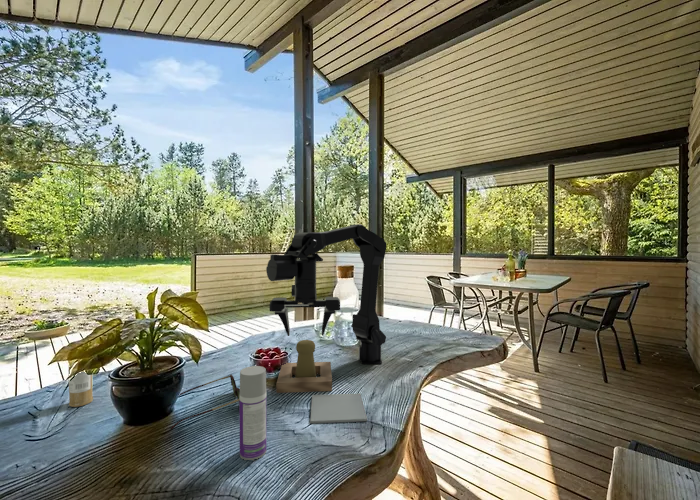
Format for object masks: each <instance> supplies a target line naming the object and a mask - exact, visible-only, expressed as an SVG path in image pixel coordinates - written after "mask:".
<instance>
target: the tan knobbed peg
mask: <svg viewBox="0 0 700 500" xmlns="http://www.w3.org/2000/svg"><path fill="white" fill-rule="evenodd" d="M295 349H296V352H297V360H296V363H297V367H296V375H294V376H295V377H294V378H302V377H317V375H316V370H315V363H314V362H315V358H314V357H315V356H314V352H315V351H316V343H315V342H314V341H313V340H311V339H302V340H299V341H298V342H297V343H296V347H295Z"/></svg>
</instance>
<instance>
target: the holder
mask: <svg viewBox="0 0 700 500" xmlns="http://www.w3.org/2000/svg"><path fill="white" fill-rule="evenodd" d="M285 363H286V364H284V365H281V367H280V370H279V374H278V378H277V380H276V384H275V385H276V390H275V391H276V393H277V394H281V393H311V392H332V391H333V376H332V365H331V364H332V363H331V361H314V363H315V370H316V377H302V378H295V377H293V376H295V375H296V367H297V362H285ZM318 375H320V376H318Z"/></svg>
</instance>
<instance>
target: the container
mask: <svg viewBox="0 0 700 500" xmlns="http://www.w3.org/2000/svg"><path fill="white" fill-rule="evenodd" d="M266 371H267V370H266V368H265V367H264V366H262V365H261V366H260V365H253V366H246V367H244V368H242V369H241V370H240V371H239V389H240V397H239V401H238V406H239V407H238V408H239V409H238V410H239V415H238V416H239V457H240V458H241V460H243V459H244V461H246V460H253V461H255V460H254V459H257V460H259V459H258V458H260V457H261V458H263V457H264V456H265V455H266V454H267V445H268V444H267V438H268V437H267V435H268V434H267V423H268V422H267V419H268V418H267V413H268V412H267V408H268V407H267V372H266ZM265 453H266V454H265ZM263 455H264V456H263ZM262 456H263V457H262ZM261 458H260V459H261Z"/></svg>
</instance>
